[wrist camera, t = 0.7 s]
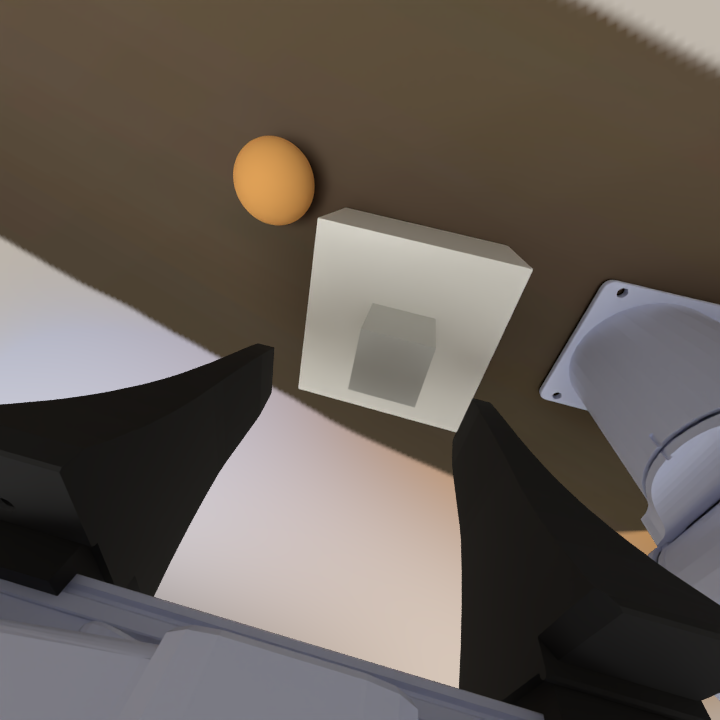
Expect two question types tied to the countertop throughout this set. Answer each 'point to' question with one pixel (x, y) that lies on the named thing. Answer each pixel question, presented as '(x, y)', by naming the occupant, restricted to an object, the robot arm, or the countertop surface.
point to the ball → (273, 180)
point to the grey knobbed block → (405, 315)
